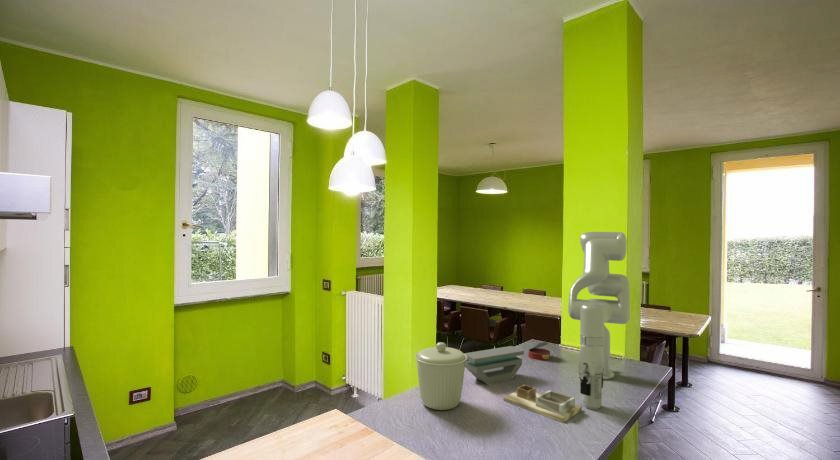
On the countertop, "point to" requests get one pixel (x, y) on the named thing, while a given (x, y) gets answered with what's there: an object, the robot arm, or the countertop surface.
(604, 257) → the robot arm
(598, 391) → the energy drink can
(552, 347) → the countertop surface
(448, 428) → the countertop surface
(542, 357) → the canned food
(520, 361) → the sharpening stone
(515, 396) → the wooden organizer tray
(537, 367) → the countertop surface
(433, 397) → the canister
